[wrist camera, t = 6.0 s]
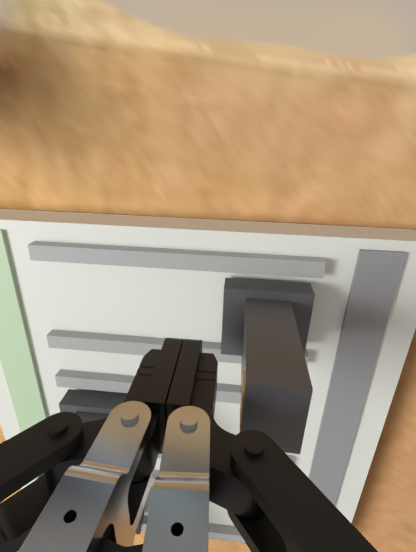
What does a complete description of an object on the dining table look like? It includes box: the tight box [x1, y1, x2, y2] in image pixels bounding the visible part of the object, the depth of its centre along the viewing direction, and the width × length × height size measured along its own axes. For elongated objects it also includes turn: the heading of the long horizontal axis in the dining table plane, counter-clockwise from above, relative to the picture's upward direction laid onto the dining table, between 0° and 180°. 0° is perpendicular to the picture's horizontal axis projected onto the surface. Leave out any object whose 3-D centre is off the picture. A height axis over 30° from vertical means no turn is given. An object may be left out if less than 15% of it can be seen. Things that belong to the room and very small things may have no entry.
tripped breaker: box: [221, 278, 315, 454], centre depth 14 cm, size 4×4×7 cm
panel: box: [0, 209, 416, 543], centre depth 19 cm, size 24×24×9 cm
